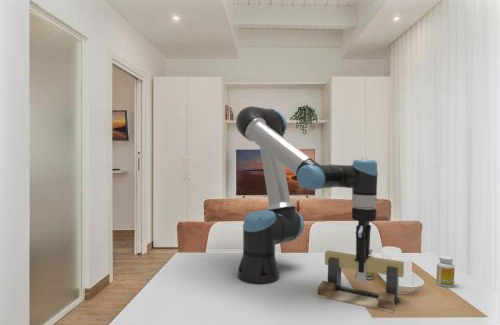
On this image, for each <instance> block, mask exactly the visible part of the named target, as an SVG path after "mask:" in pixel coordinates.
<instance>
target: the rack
mask: <svg viewBox="0 0 500 325" xmlns="http://www.w3.org/2000/svg"><path fill="white" fill-rule="evenodd" d="M397 273H398V269H394V268H387V274H386V280H385V281H386V282H385V284H386V285H385V292H386V293H391V294H395V305H397V303H399V302H400V297H399V282H400V280H399V279H400V277H397ZM327 281H328V282H333V283H335V291H341V292H346V293H351V294H356V295H361V296H366V297H371V298H376V299H378V297H379V295H380V293H378V292H373V291H367V290H363V289H358V288H352V287H348V286H347V287H346V286H342V267H338V260H337V259H330V258H329V259H328V265H327Z"/></svg>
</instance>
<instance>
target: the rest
mask: <svg viewBox="0 0 500 325" xmlns="http://www.w3.org/2000/svg"><path fill="white" fill-rule="evenodd" d="M379 294H380V295H379V297H378V298H374V297H369V296H364V295H359V294H354V293H349V292H344V291H339V290H338V291H335V283H333V282H328V280H322V281H321V282H320V284H318V286H317V295H316V296H319V298H322V297H323V298H322V299H329V300H331V299H332V300H333V301H335V302H337V301H338V302H342V303H346V304H350V305H356V306H359V307H360V306H361V307H365V308H371V309H374V310H378V311H383V312H387V313H393V312H394V309H395V308H394V307H395V305H396V304H395V294H391V293H386V291H380V293H379Z"/></svg>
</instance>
